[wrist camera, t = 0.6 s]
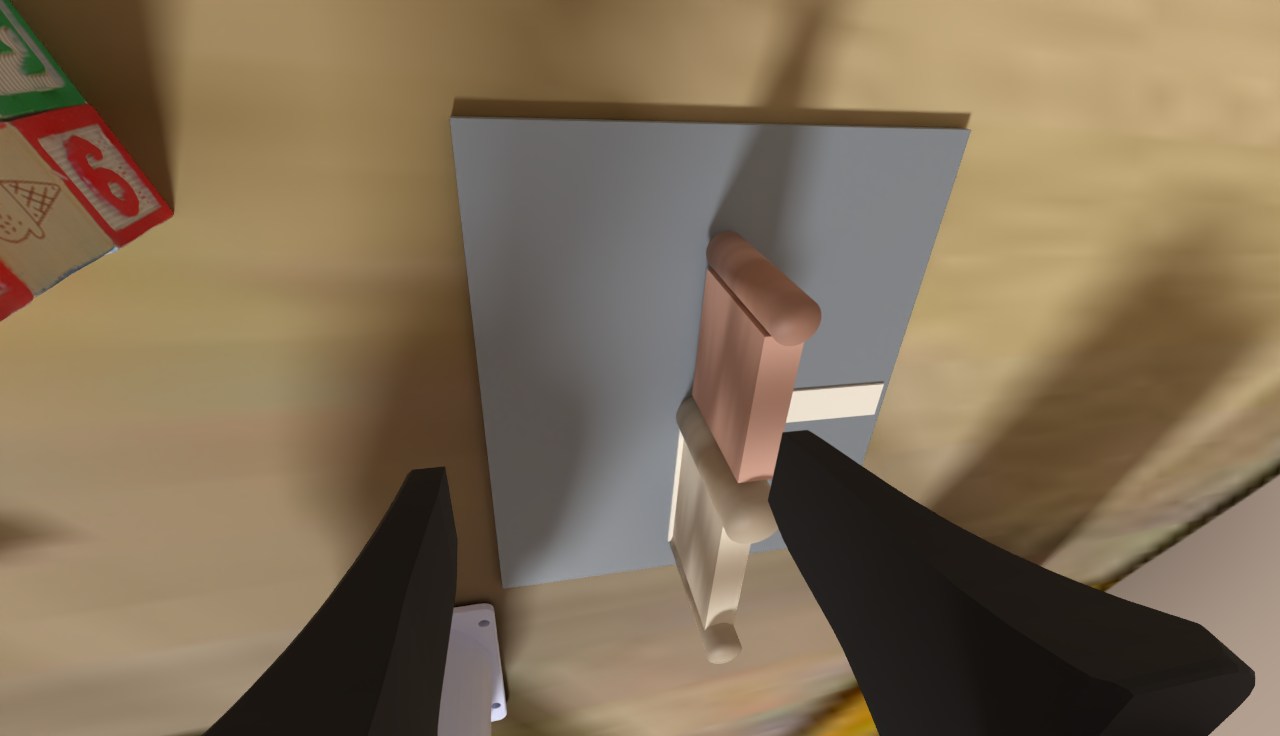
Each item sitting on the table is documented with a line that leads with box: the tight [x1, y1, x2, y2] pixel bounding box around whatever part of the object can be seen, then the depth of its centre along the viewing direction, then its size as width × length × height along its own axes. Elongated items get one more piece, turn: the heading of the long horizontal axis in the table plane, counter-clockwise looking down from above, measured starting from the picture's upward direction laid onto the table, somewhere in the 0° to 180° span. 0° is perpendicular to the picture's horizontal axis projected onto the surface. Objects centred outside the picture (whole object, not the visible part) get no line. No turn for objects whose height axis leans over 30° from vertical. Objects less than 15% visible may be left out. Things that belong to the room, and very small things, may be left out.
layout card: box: [450, 116, 971, 589], centre depth 23 cm, size 20×17×1 cm
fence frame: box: [669, 396, 779, 664], centre depth 23 cm, size 9×2×6 cm, turn 177°
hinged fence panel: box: [692, 231, 821, 483], centre depth 18 cm, size 6×1×5 cm, turn 177°
